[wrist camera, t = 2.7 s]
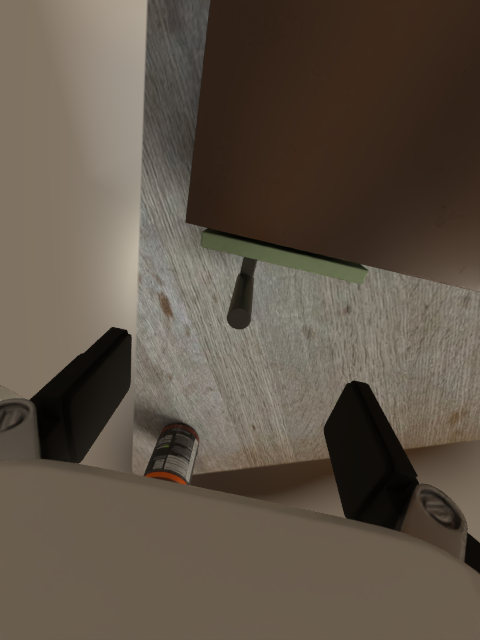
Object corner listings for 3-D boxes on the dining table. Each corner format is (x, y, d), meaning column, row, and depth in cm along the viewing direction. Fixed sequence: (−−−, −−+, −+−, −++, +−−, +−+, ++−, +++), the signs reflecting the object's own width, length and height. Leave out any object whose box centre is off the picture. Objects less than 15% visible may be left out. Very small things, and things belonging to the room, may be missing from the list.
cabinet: (223, 205, 24) (185, 222, 12) (253, 29, 19) (240, -281, 6) (407, 249, 25) (554, 309, 12) (487, 90, 20) (889, -83, 7)
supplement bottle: (183, 454, 41) (158, 541, 31) (153, 434, 39) (116, 519, 29) (208, 437, 39) (190, 525, 29) (178, 415, 37) (147, 500, 27)
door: (217, 274, 27) (187, 333, 16) (228, 211, 24) (202, 231, 13) (299, 293, 27) (326, 363, 16) (320, 233, 24) (369, 270, 13)
